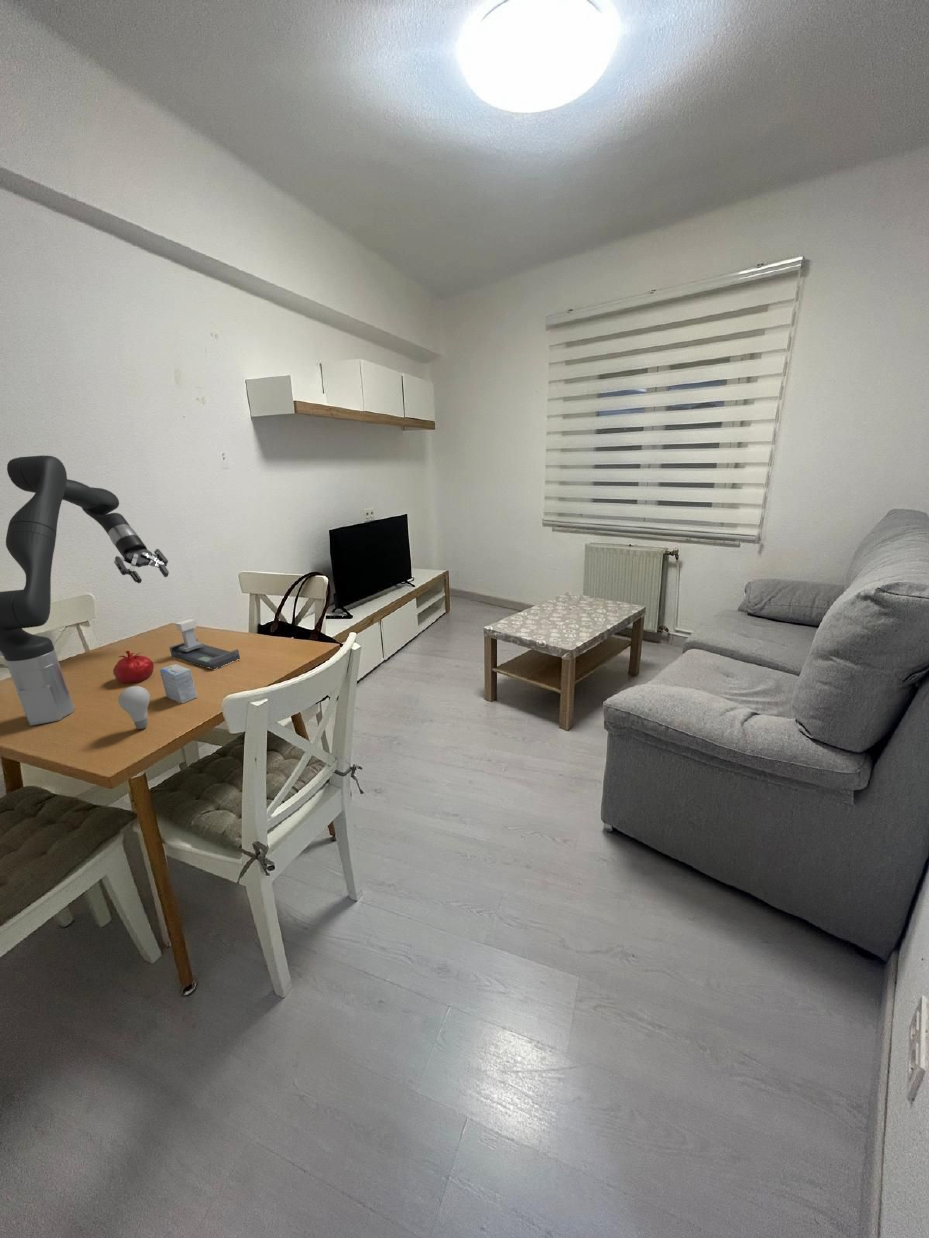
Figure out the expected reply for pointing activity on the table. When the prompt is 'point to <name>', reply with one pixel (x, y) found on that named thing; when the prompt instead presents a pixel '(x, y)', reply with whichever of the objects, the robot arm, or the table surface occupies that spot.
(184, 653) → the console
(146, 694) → the lightbulb
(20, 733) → the table surface
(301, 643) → the table surface
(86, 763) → the table surface
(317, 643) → the table surface
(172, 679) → the medicine box
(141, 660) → the pomegranate
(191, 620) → the fader
